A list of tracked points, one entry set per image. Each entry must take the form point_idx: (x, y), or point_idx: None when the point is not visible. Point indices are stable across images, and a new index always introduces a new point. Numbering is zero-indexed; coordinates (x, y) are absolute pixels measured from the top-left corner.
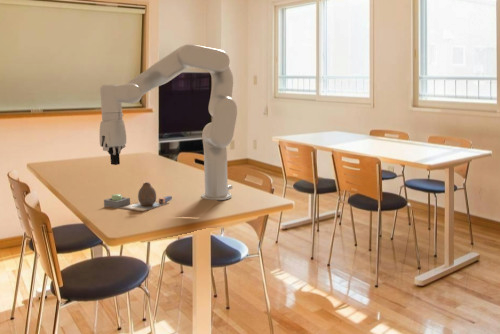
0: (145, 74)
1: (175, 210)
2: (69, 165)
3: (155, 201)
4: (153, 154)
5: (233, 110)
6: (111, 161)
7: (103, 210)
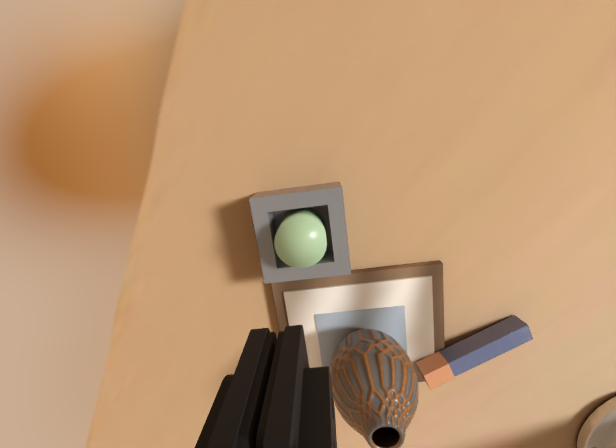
0: None
1: None
2: None
3: (440, 319)
4: None
5: None
6: (224, 391)
7: (224, 234)
